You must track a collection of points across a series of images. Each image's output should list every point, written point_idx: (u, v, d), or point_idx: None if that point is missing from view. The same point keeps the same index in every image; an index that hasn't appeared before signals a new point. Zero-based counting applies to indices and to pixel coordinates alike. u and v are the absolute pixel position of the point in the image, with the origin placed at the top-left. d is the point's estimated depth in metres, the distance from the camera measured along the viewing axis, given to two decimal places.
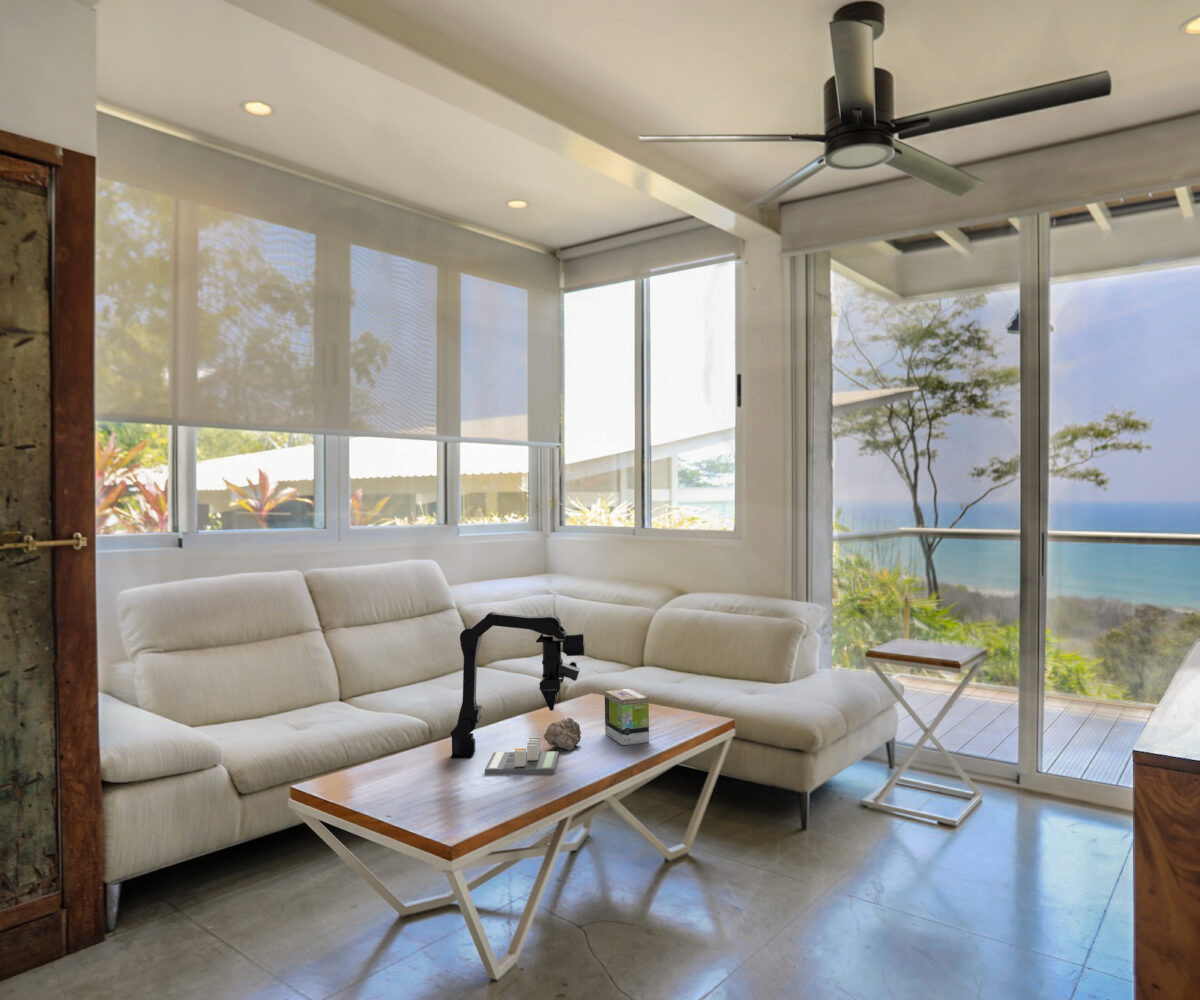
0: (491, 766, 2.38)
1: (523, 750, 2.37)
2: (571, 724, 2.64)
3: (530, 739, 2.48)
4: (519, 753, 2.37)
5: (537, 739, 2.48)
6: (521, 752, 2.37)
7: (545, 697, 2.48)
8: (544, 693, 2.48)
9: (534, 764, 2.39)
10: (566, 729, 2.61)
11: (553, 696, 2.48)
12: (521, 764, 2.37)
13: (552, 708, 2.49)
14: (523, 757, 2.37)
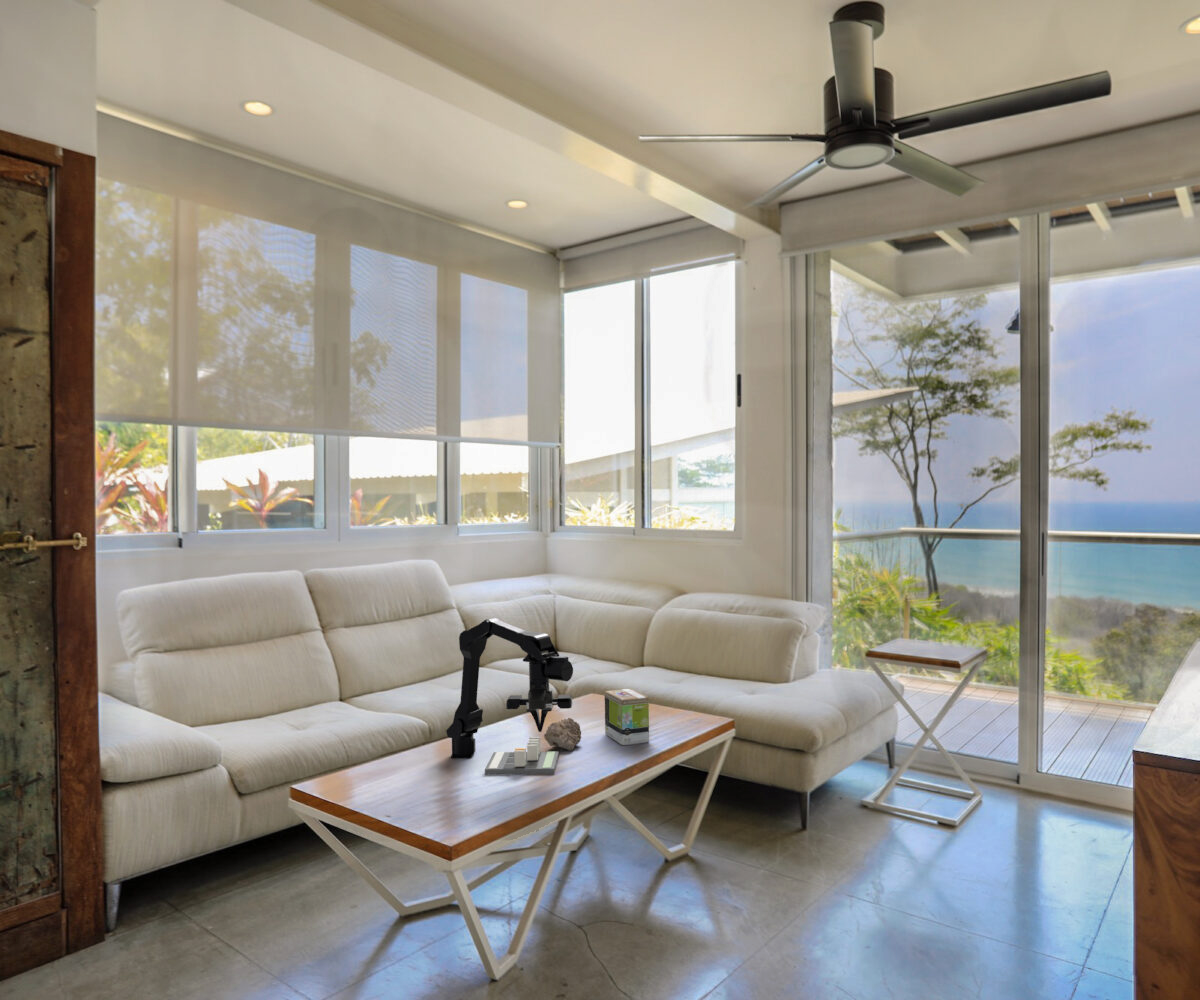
0: (491, 766, 2.38)
1: (523, 750, 2.37)
2: (571, 724, 2.63)
3: (530, 739, 2.48)
4: (519, 753, 2.37)
5: (537, 739, 2.48)
6: (521, 752, 2.37)
7: None
8: None
9: (534, 764, 2.39)
10: (566, 729, 2.61)
11: None
12: (521, 764, 2.37)
13: (538, 729, 2.38)
14: (523, 757, 2.37)
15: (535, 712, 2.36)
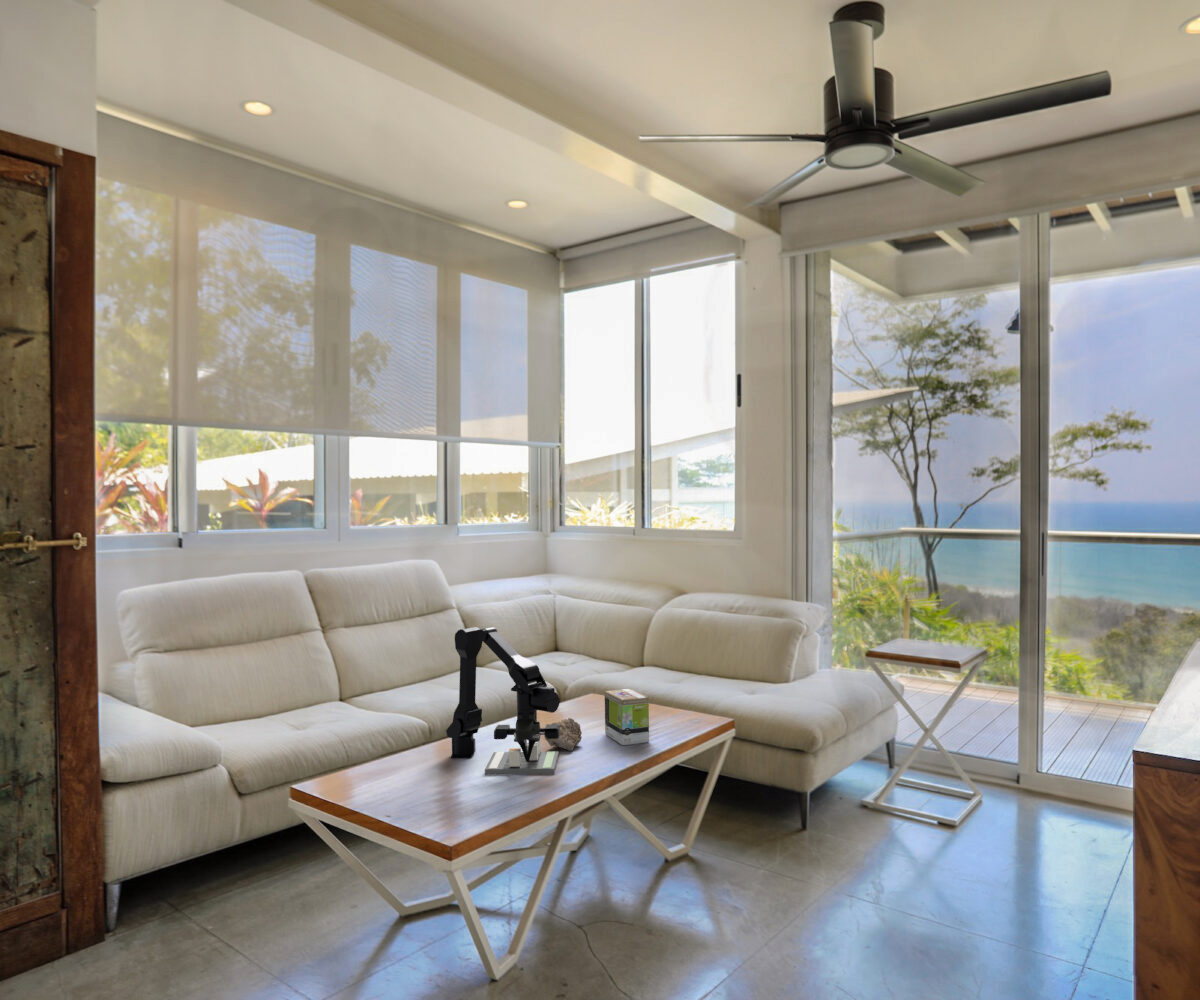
0: (491, 766, 2.38)
1: (518, 750, 2.37)
2: (572, 724, 2.63)
3: None
4: (513, 753, 2.37)
5: None
6: (516, 752, 2.37)
7: None
8: None
9: (534, 764, 2.39)
10: (567, 729, 2.61)
11: None
12: (516, 764, 2.37)
13: None
14: (518, 757, 2.37)
15: (523, 742, 2.36)
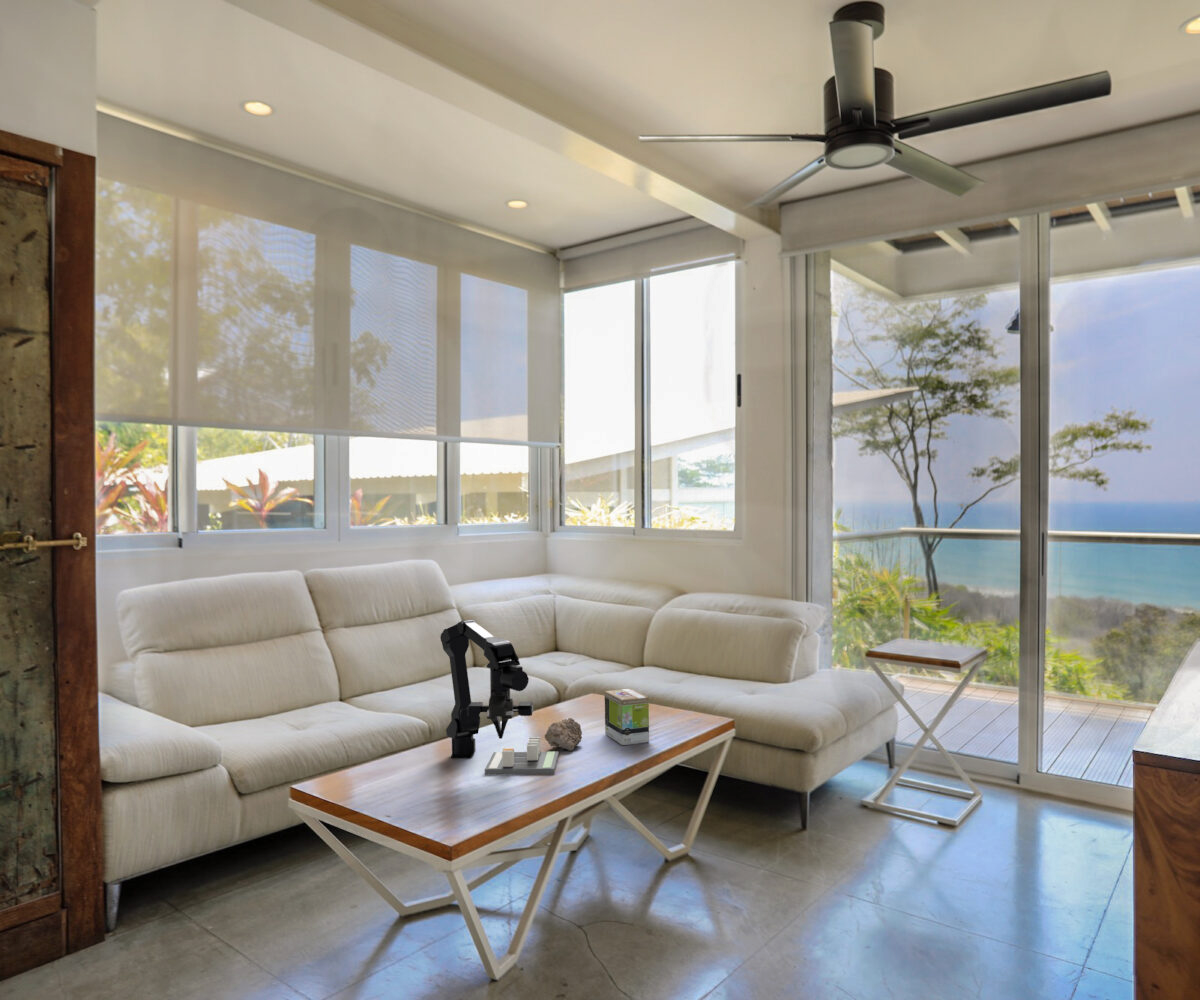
0: (491, 766, 2.38)
1: (511, 750, 2.38)
2: (572, 724, 2.63)
3: (530, 739, 2.48)
4: (507, 753, 2.37)
5: (537, 739, 2.48)
6: (509, 752, 2.37)
7: None
8: None
9: (534, 764, 2.39)
10: (567, 729, 2.61)
11: None
12: (509, 764, 2.37)
13: None
14: (511, 757, 2.37)
15: (496, 719, 2.37)
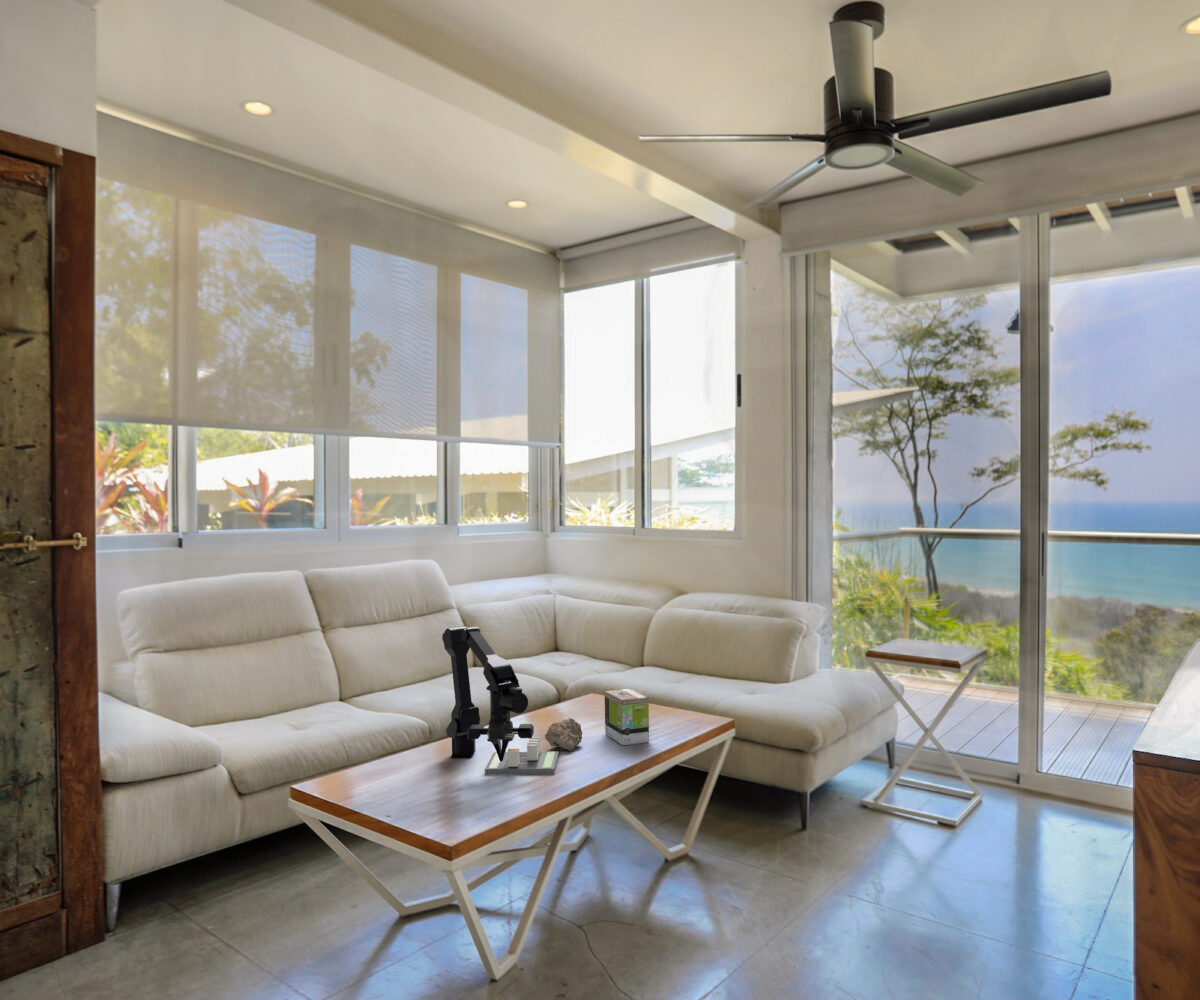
0: (491, 766, 2.38)
1: (516, 750, 2.37)
2: (572, 724, 2.63)
3: (530, 739, 2.48)
4: (512, 753, 2.37)
5: (537, 739, 2.48)
6: (515, 752, 2.37)
7: None
8: None
9: (534, 764, 2.39)
10: (567, 729, 2.60)
11: None
12: (514, 764, 2.37)
13: None
14: (516, 757, 2.37)
15: (496, 742, 2.36)
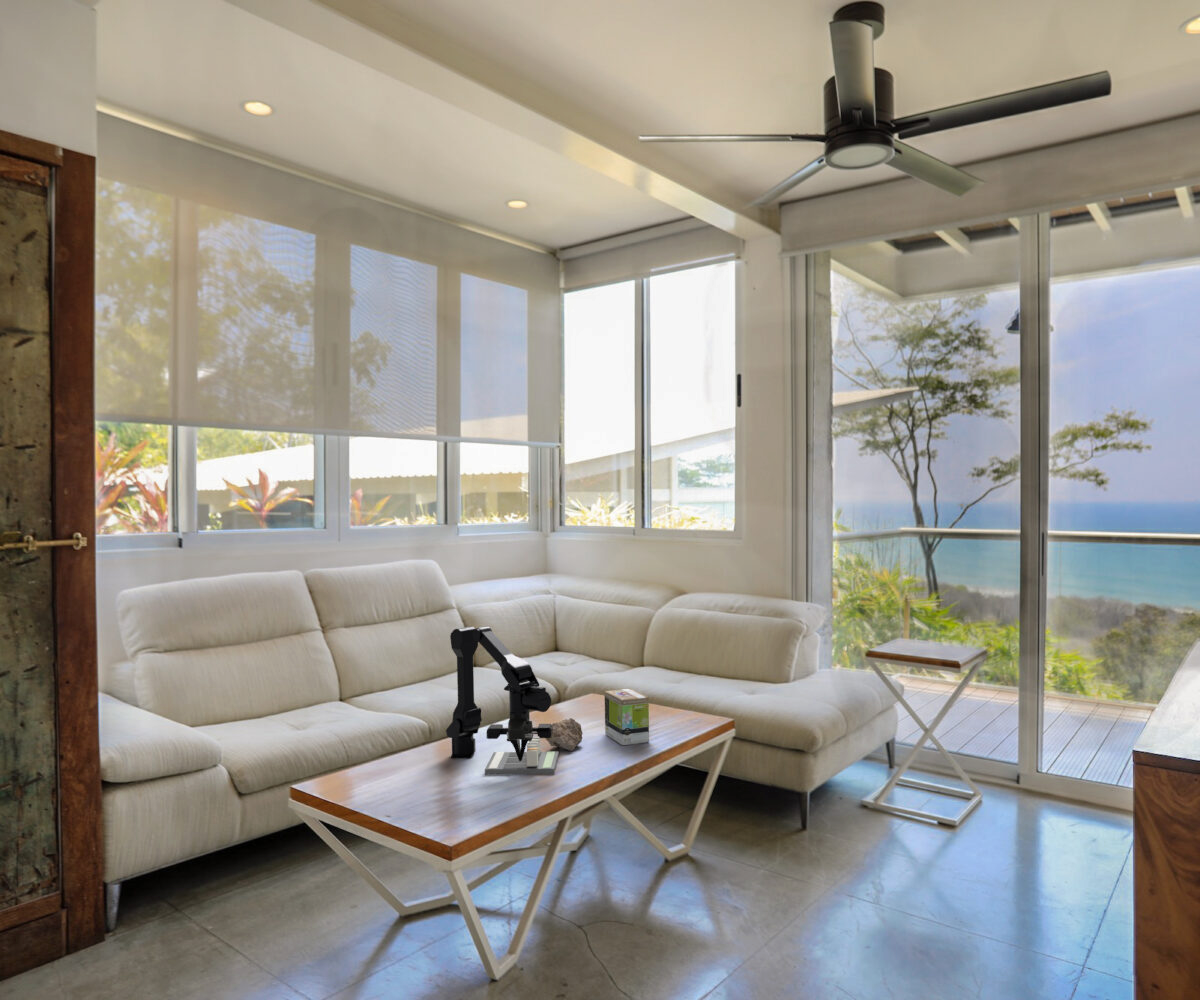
0: (491, 766, 2.38)
1: (535, 750, 2.37)
2: (573, 724, 2.63)
3: None
4: (531, 753, 2.37)
5: (537, 739, 2.48)
6: (534, 752, 2.37)
7: None
8: None
9: None
10: (567, 729, 2.60)
11: None
12: (533, 764, 2.37)
13: None
14: (535, 757, 2.37)
15: (515, 742, 2.36)
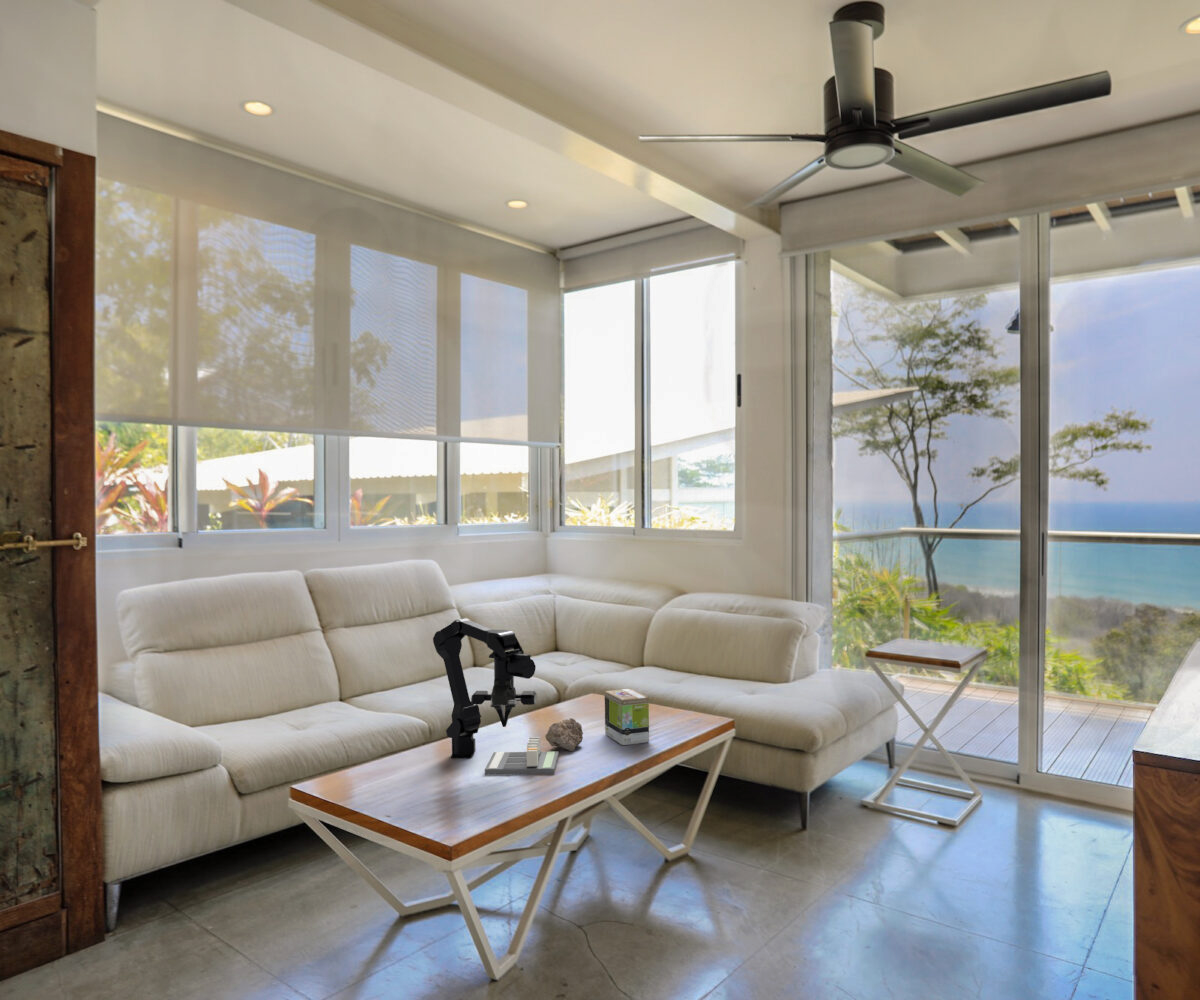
0: (491, 766, 2.38)
1: (535, 750, 2.37)
2: (573, 724, 2.63)
3: (530, 739, 2.48)
4: (531, 753, 2.37)
5: (537, 739, 2.48)
6: (534, 752, 2.37)
7: None
8: None
9: None
10: (568, 729, 2.60)
11: None
12: (533, 764, 2.37)
13: None
14: (535, 757, 2.37)
15: (499, 708, 2.41)
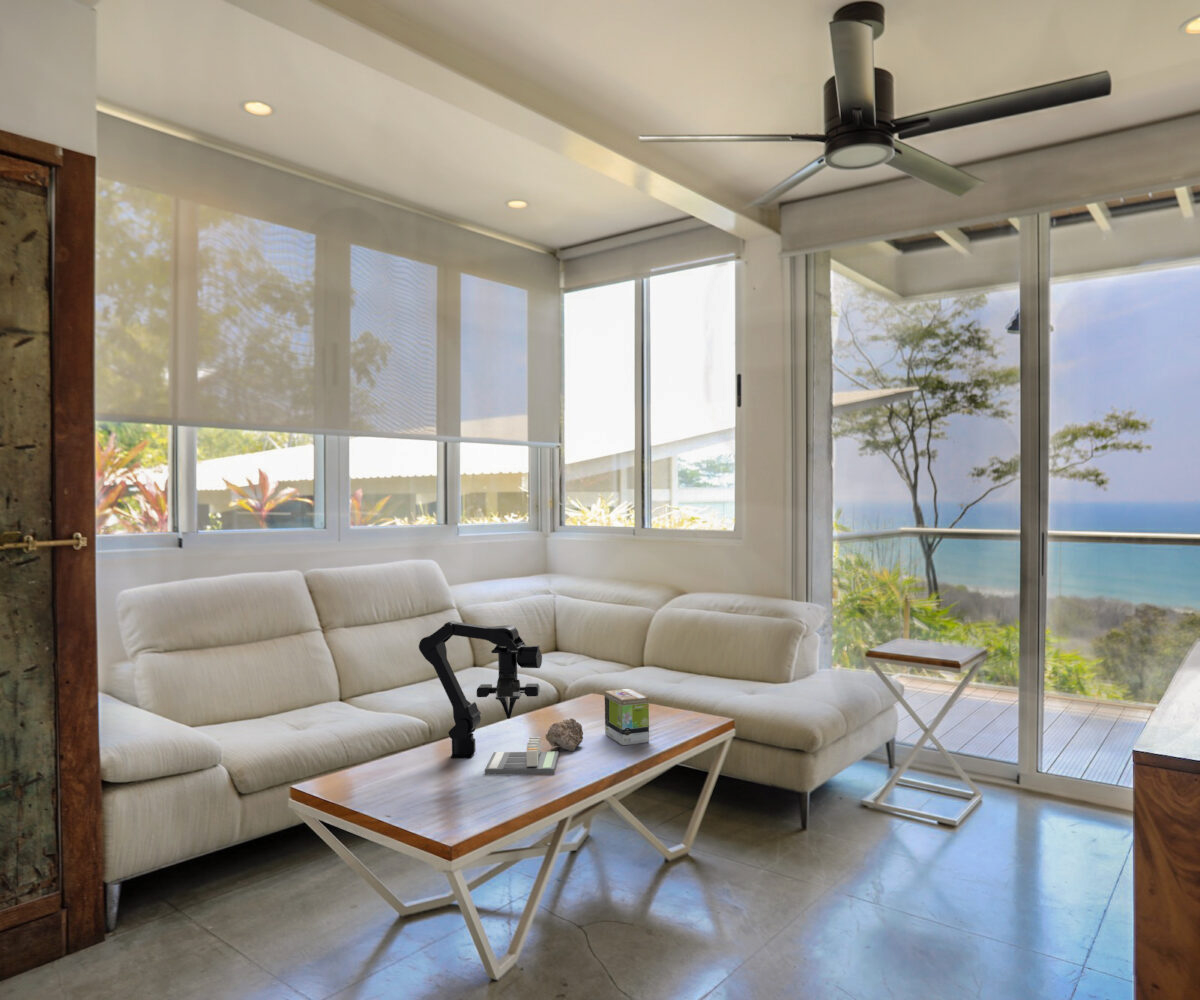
0: (491, 766, 2.38)
1: (535, 750, 2.37)
2: (573, 725, 2.63)
3: (530, 739, 2.48)
4: (531, 753, 2.37)
5: (537, 739, 2.48)
6: (534, 752, 2.37)
7: None
8: None
9: None
10: (568, 730, 2.60)
11: None
12: (533, 764, 2.37)
13: None
14: (535, 757, 2.37)
15: (504, 700, 2.49)
